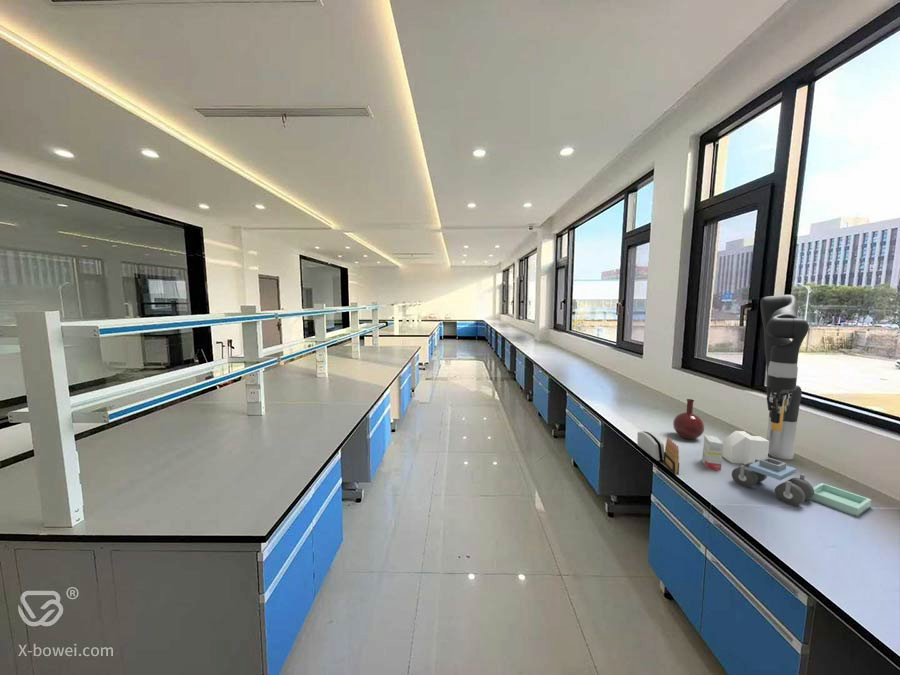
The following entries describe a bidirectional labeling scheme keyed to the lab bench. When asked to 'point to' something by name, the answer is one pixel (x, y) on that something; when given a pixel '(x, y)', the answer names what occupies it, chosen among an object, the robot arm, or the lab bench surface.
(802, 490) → the trolley
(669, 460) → the ammunition clip
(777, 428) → the pin
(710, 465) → the ink box
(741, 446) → the white faceted lump
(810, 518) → the lab bench surface
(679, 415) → the round-bottom flask
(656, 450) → the white rounded slab
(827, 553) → the lab bench surface
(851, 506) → the tray
